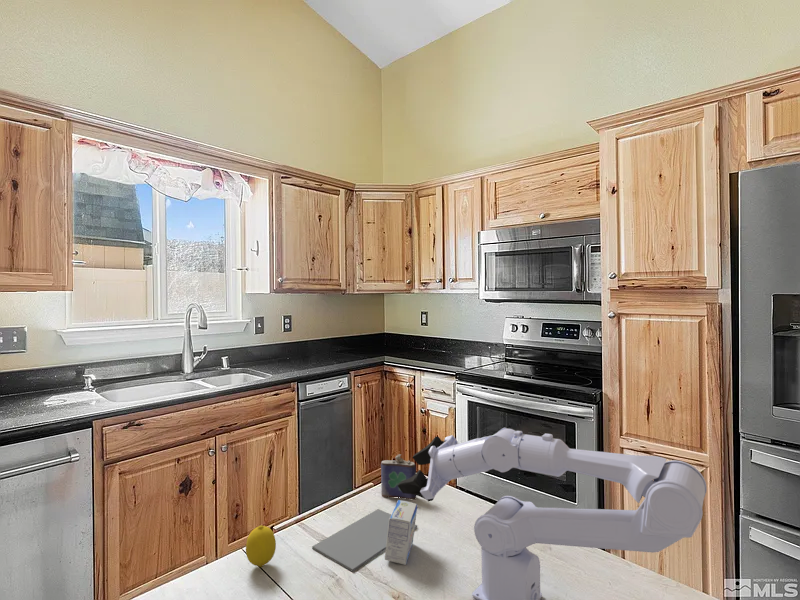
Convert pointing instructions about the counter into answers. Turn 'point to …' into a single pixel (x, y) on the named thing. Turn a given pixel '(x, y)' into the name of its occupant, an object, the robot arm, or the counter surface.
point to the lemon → (260, 546)
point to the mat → (357, 541)
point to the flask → (396, 477)
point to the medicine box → (401, 532)
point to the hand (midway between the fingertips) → (408, 473)
